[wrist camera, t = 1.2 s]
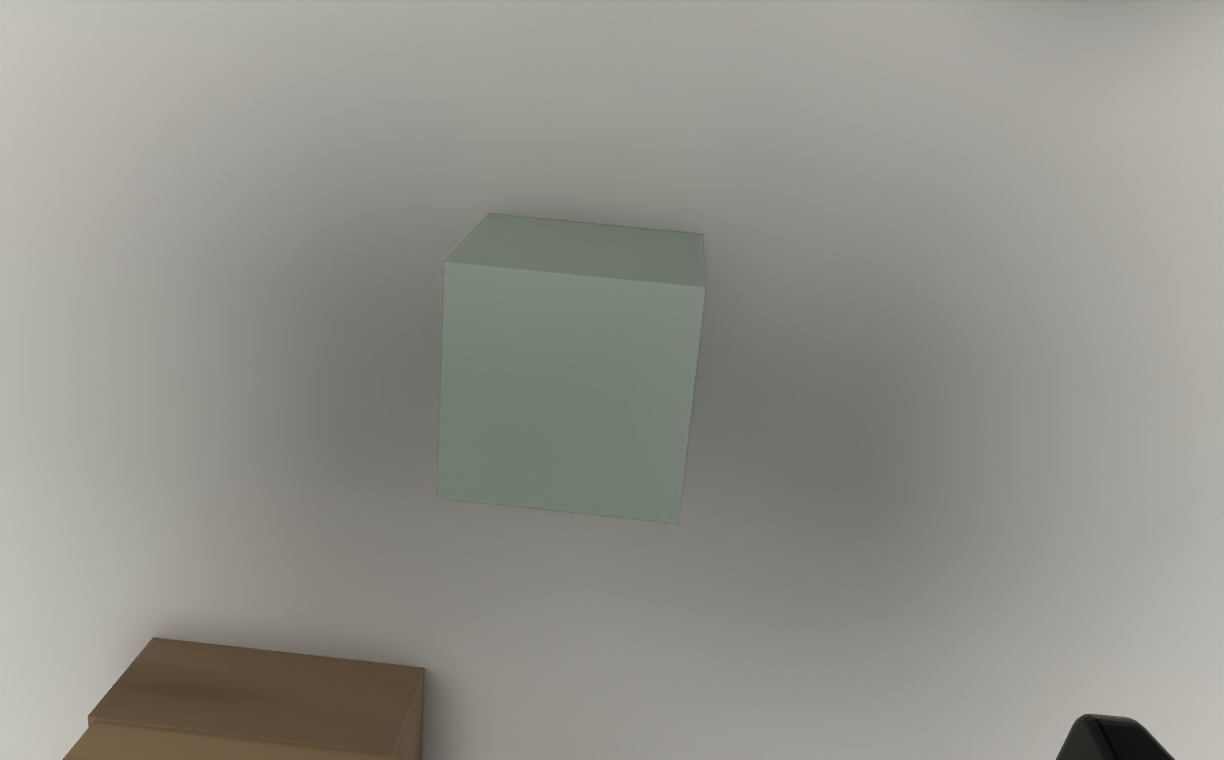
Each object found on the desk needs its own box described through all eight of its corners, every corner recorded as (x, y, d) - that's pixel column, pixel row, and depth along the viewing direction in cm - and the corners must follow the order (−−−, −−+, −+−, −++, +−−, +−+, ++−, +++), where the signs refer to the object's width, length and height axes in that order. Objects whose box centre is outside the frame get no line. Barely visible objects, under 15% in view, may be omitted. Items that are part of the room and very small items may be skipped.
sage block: (680, 432, 22) (678, 524, 18) (480, 411, 22) (436, 498, 18) (703, 233, 21) (705, 287, 17) (489, 212, 21) (444, 262, 17)
